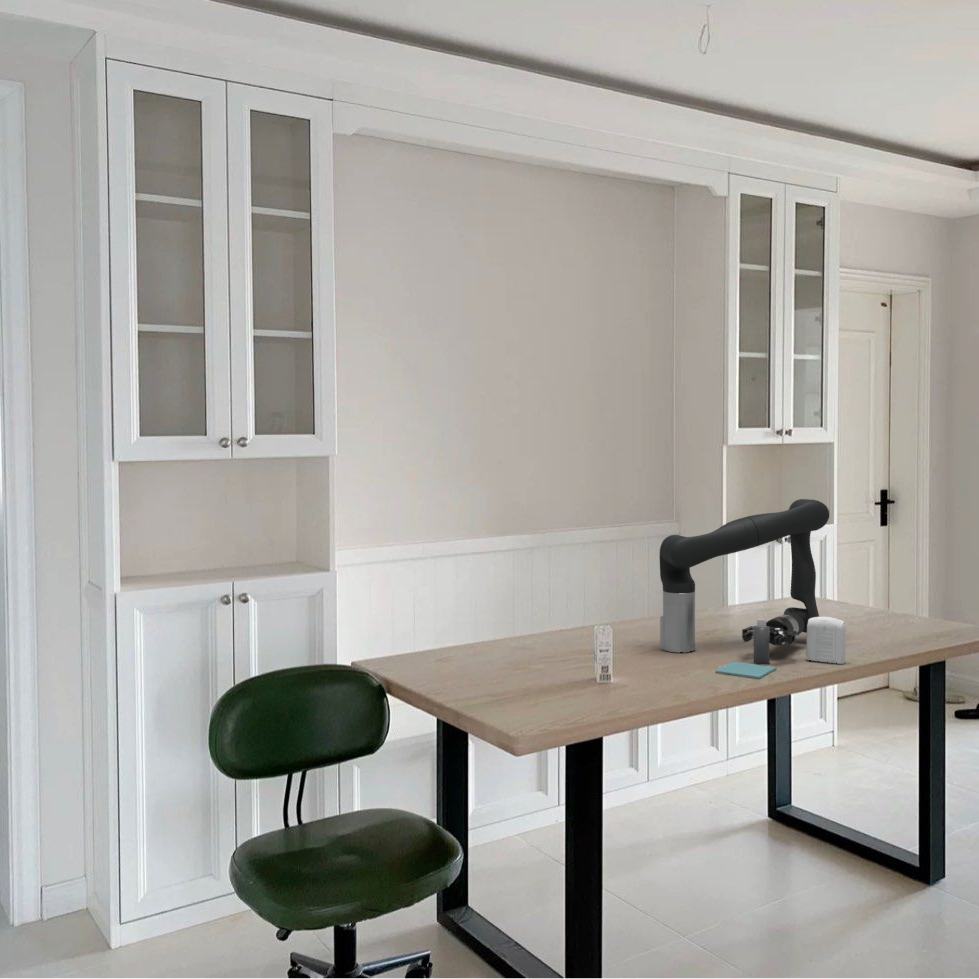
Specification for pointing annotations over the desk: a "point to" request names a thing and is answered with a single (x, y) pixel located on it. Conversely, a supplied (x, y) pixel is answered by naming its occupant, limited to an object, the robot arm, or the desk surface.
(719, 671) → the teal mat
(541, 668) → the desk surface
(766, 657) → the grey capped bottle
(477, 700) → the desk surface
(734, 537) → the robot arm
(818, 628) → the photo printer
